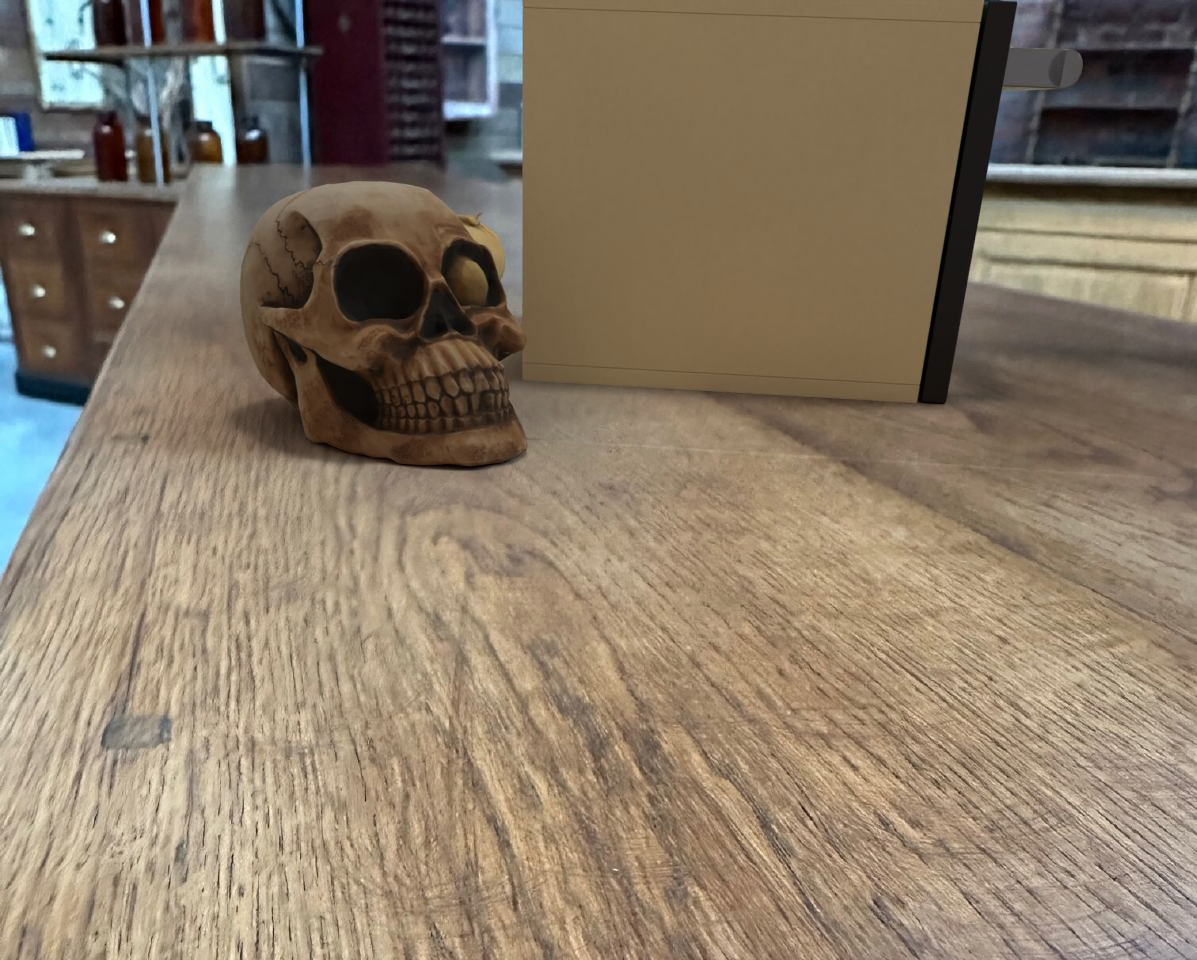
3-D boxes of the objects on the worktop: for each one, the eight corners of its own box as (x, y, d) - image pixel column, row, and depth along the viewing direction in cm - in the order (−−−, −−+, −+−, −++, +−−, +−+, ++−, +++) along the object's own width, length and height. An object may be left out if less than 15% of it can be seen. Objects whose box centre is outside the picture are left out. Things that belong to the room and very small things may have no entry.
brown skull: (506, 469, 59) (476, 168, 53) (194, 477, 63) (132, 195, 56) (574, 413, 73) (556, 168, 66) (314, 422, 76) (274, 190, 70)
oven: (875, 332, 100) (920, 25, 89) (916, 404, 77) (985, -4, 65) (574, 316, 102) (580, 14, 91) (522, 381, 78) (522, -18, 67)
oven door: (957, 335, 100) (1011, 30, 89) (1024, 408, 76) (1110, 4, 65) (879, 331, 100) (923, 27, 89) (921, 402, 76) (988, 0, 65)
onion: (407, 294, 111) (404, 210, 107) (444, 284, 117) (441, 204, 113) (486, 301, 108) (485, 215, 105) (518, 290, 115) (518, 209, 111)
